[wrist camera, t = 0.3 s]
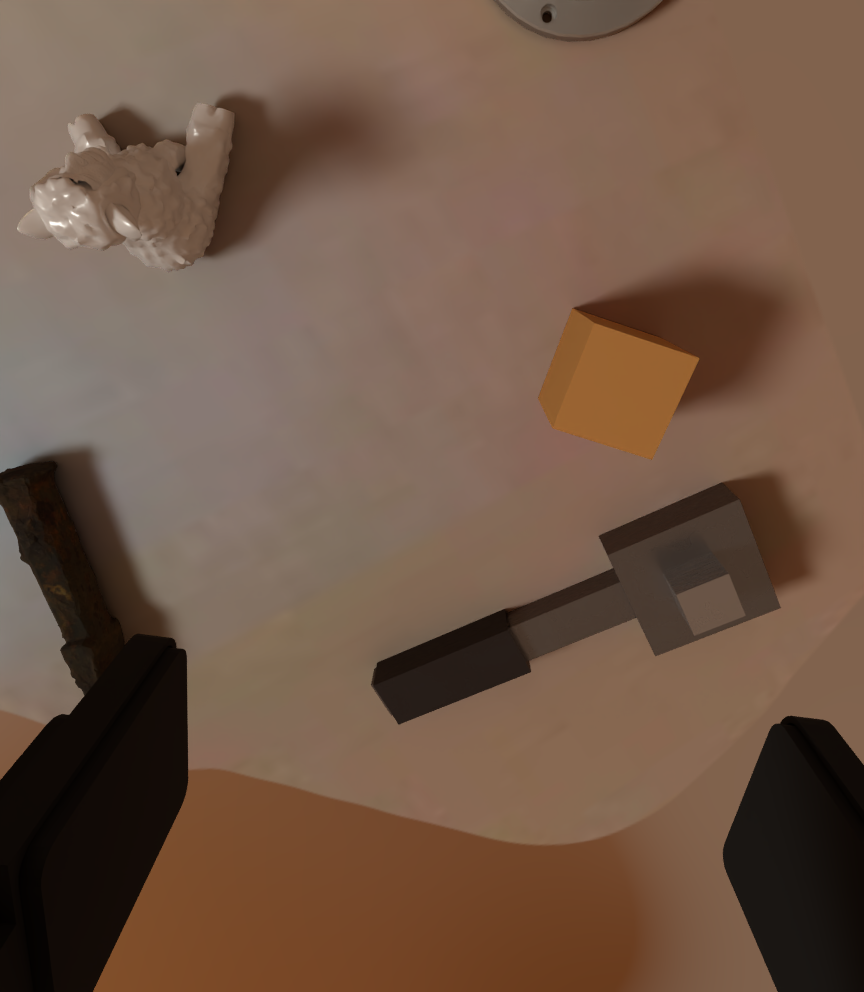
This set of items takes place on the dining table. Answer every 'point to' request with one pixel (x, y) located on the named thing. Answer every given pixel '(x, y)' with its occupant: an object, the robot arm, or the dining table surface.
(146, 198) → the seated beast figurine
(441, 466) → the dining table surface
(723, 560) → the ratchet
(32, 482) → the hand tool
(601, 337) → the orange cube
